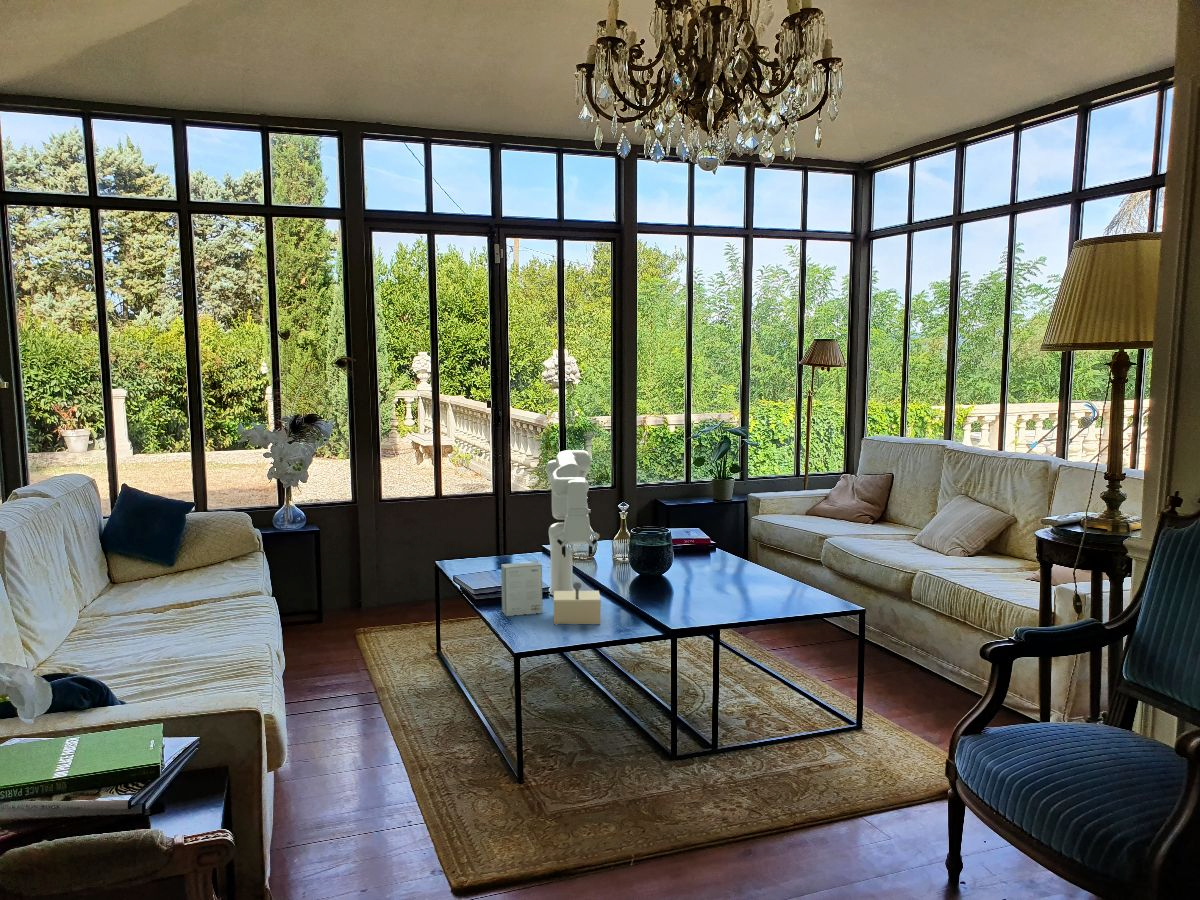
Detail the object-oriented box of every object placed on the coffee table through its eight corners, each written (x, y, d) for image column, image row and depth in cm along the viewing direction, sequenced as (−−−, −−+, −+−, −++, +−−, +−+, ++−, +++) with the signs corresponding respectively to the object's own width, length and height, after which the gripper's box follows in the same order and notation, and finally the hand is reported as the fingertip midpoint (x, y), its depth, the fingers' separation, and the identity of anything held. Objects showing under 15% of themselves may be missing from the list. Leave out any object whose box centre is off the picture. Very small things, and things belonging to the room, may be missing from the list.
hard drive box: (538, 608, 349) (538, 561, 347) (543, 613, 342) (542, 565, 340) (501, 611, 344) (500, 563, 342) (505, 616, 337) (504, 567, 335)
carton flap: (554, 592, 339) (554, 574, 338) (599, 592, 340) (599, 574, 339) (553, 602, 325) (553, 582, 324) (600, 601, 326) (600, 582, 325)
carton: (554, 615, 339) (554, 593, 339) (598, 614, 340) (599, 592, 340) (553, 625, 326) (553, 602, 325) (600, 624, 326) (600, 601, 326)
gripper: (599, 510, 328) (599, 554, 329) (554, 510, 327) (554, 554, 329) (600, 513, 321) (600, 558, 322) (554, 513, 320) (554, 558, 321)
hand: (577, 556), depth 325 cm, fingers open, 9 cm apart
